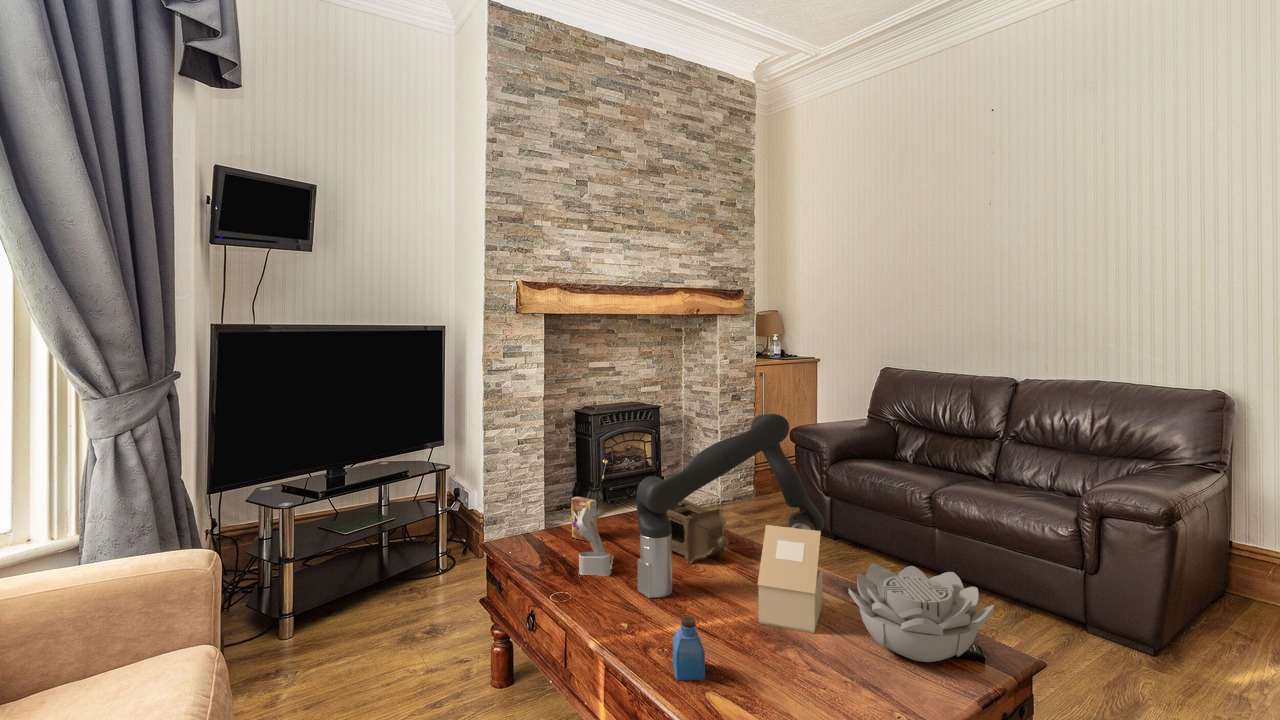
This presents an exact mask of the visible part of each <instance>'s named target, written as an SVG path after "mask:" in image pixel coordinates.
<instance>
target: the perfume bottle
mask: <svg viewBox="0 0 1280 720" xmlns="http://www.w3.org/2000/svg"><path fill="white" fill-rule="evenodd" d="M680 621H681V622H680V624H679V625H680V627H679V628H680V629H677V631H676V633H675V634H674V635H673V638H672V667H673V670H674V671H673V672H674V675H675V679H676V681H694V680H695V681H697V680H705V679H706V667H705V663H706V660H705V659H706V657H705V655H706V652H705V649H704V645H703V643H702V640H701V637H700V635H699V633H698V631H697V625H696V618H695V617H694V616H689V615H684V616H682V617H681V618H680Z"/></svg>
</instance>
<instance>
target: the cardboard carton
mask: <svg viewBox="0 0 1280 720" xmlns="http://www.w3.org/2000/svg"><path fill="white" fill-rule="evenodd" d="M822 608H823V570H821V569H820V570H819V569H818V570H817V582H816V593H815V594H810V593H803V592H797V591H791V590H784V589H778V588H771V587H765V586H759V585H758V624H760V625H763V626H764V625H765V626H770V627H775V628H782V629H788V630H793V631H797V632H798V631H799V632H803V631H804V633H808V632H809V634H815V633H816V630H817V627H816V626H818V623H819V620H820V619H819V618H820V615H821V612H822Z"/></svg>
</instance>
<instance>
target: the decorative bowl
mask: <svg viewBox="0 0 1280 720" xmlns="http://www.w3.org/2000/svg"><path fill="white" fill-rule="evenodd" d="M856 584H857V591H858V593H859V595H858V594H857V593H856V592H854V591H853V590H851V588H850V587H848V594H849V596H850V597H851V598H852V599H853V601H854V603H856V605H857V607H859V612H860V617H861V619H862V622H863V625H864V627H865V628H866V630H867V631H868V633H869V634H870V636H871V637H872V638H873V639H874V640H875V642H876V643H878V644H879V645H880V646H884V647H886V648H887V649H889V650H891V651H893V653H896V654H898V655H900V656H903V657H905V658H908V659H910V660H913V661H915V662H916V661H917V662H923V663H932V662H934V663H935V662H937V661H938V662H939V661H943V660H947V659H950V658H952V657H954V656H956V657H957V658H958V657H960V656H962V655H963V654H964V653H965V652H966V651H967V650H968V649H969V648H970V647H971V645H972V644H973V642H974V641H975V640H976V638H977V634H978V631H979V628H980V627H982V626H983V625H984V624H985V623H986V622H987V621H988V620H989V619H990V618H991V617H992V615H993V614H994V613H995V604H992V605H989V606H988V607H984V608H982V609H979V610H978V608H979V607H978V606H979V589H978V587H976V586H969V587H967V588H964V585H963V583H962V580H961V578H960V576H958V575H957V574H956V573H955V572H953V571H948V572H947V571H946V572H944V573H943V572H942V573H941V574H939V575H935V576H932V577H930V578H928V577H927V575H925V573H924V572H923V571H922V570H921V569H919V568H918V567H916V566H913V565H909V566H905V567H904V568H902V570H900V571H899V572H898V574H897V573H896V572H893V571H892V570H890V569H885V567H883V566H881V565H880V564H877V563H872V564H871V565H869V567H868V568H867V571H866V574H865V575H864V574H861V573H857V574H856Z"/></svg>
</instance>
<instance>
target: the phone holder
mask: <svg viewBox="0 0 1280 720" xmlns="http://www.w3.org/2000/svg"><path fill="white" fill-rule="evenodd" d="M577 523H578V527H579V530H580V532H581V534H582V535H583V536H584V537H585V538H587V539H588V540H589V541H590V543H589V544H590V545H591V546H590V547H591V548H592V551H584V552H581V553H579V554H578V575H579V574H580V575H597V576H608V575H610V574H612V571H611V569H612V570H613V566H612V564H613V565H614V561H613V559H614V560H615V556H614V555H613V554H610V553H609V552H606V550H605V547H604V545H603V541H602V538H601V537H600V534H599V531H598V527H597V528H596V526H595V523H594V521H593V518H592V515H591V513H590V510H589V508H588V507H585V508H583V509H582V511H581V513H580V515H579V518H578V520H577ZM610 556H612V558H611V563H610Z"/></svg>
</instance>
